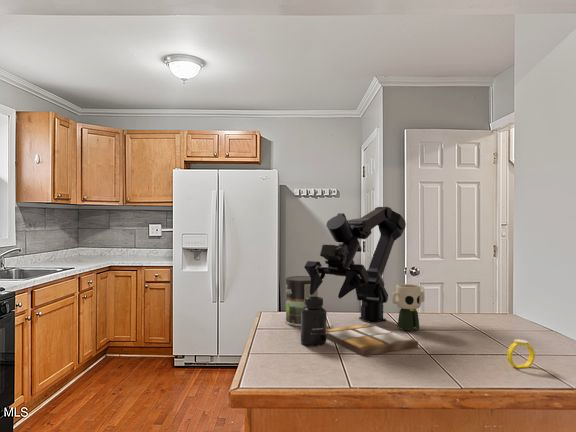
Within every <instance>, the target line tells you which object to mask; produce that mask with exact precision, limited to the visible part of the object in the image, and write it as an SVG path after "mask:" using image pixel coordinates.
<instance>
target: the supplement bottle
mask: <svg viewBox="0 0 576 432" xmlns="http://www.w3.org/2000/svg"><path fill="white" fill-rule="evenodd" d="M305 305H306V307H304V308H303V309H302V310H301V326H300V343H301V344H302V345H305V346H308V347H321V346H324V345H326V343H327V339H326V329H327V326H328V325H327V321H328V320H327V319H328V318H327V314H328V313H327V310H326V309H325V308H324V307H323V306H324V298H323V297H321V296H318V297H306V298H305Z"/></svg>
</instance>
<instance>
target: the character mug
mask: <svg viewBox="0 0 576 432" xmlns="http://www.w3.org/2000/svg"><path fill="white" fill-rule="evenodd" d="M391 300H392V304H393V305H396V307H398V308H399V309H400V310H399V312H398V320H397V327H398V328H399V329H401V330H402V331H414V329H415V331H418V330H420V319H419V312H418V310H417V309H419V308H421V306H422V303H423V302H425V291H424V290H422V288H421V285H418V284H411V283H402V284H396V288H395V292H392V295H391Z"/></svg>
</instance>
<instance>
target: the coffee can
mask: <svg viewBox="0 0 576 432" xmlns="http://www.w3.org/2000/svg"><path fill="white" fill-rule="evenodd" d="M310 284H311V277H310V276H307V275H295V276H287V277H286V278H285V291H286V292H285V299H286V300H285V307H286V308H285V309H286V310H285V313H286V314H285V315H286V317H285V323H286V324H287V325H289V326H293V327H301V310H302V309H303V308H304V307H306V305H305V298H306V297H319V288H318V289H317V290H316V291H315V293H314V294H313V295H311V294H310Z"/></svg>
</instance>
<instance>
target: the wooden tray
mask: <svg viewBox="0 0 576 432" xmlns="http://www.w3.org/2000/svg"><path fill="white" fill-rule="evenodd" d="M326 340H328V341H330V342H333V343H334V344H337V345H339V346H340V347H341V346H342V347H343V348H345V349H348V350H349V351H352V352H354V353H356V354H358V355H360V356H362V357H364V356H372V355H376V354H384V353H389V352H395V350H396V351H401V350H402V349H403V350H407V349H413V348H418V347H419V340H417V339H416V340H415V339H412V338H411V337H408V336H405V335H402V334H399V333H397V332H393V331H390V330H388V329H386V328H383V327H380V326H376V325H374V324H367V323H366V324H359V325H357V324H356V325H351V326H342V327H335V328H333V327H332V328H326Z"/></svg>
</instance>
